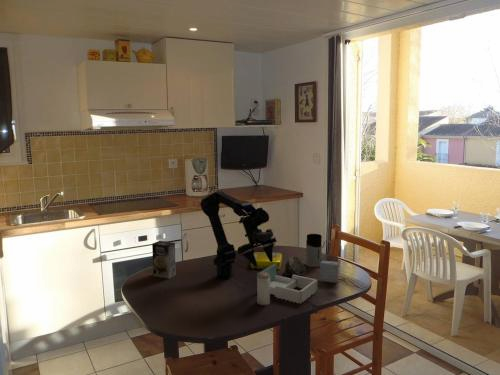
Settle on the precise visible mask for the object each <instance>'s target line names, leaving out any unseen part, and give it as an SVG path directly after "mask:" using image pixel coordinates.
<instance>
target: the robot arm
mask: <svg viewBox="0 0 500 375" xmlns="http://www.w3.org/2000/svg"><path fill="white" fill-rule="evenodd" d="M220 204H223V205H224V206H227V207H229V208H230V209H232V211H233V213H234V214H236V216H238V217H240V219H239V221H238V223H239V224H242V226H243V228H244V231H245V234H244V237H245V238H247V239H248V243H245V244H243V245H240V246H239V247H237V251H236V249H235V245H234V244H232V243H231V244H230V242H228V239H227V236H226V232H225V230H224V226H223V223H222V221H221V218H220V215H219V211H220V209H221V208H220ZM200 208H201V210H202V212H203V214H205V215H206V216H207V217H208V219H209V223H210V226H211V228H212V231H213V236H214V238H215V241H216V244H217V248H216V257H215V258H214V259H213V265H215V266H216V275H215V278H217V279H222V280H223V279H224V280H229V279H230V278H231V277H233V276H234V273H233V271H234V269H233V266H232V264H234V263H235V262H236V261H235V260H236V257H237V253H238V255H241V256H243V257H245V259H247V260H248V261H249V262H250V264H251V263H252V264H253V265H254V266H255V267H257V262H256V259H255V256H254V253H255V249H256V248H259V247H262V246H263V247H262V250H263V252H265V253H266V255H267V257H268V259H269V260H270V262H272V261H273V257H272V253H273V247H274V246H275V245H276V243H277V242H278V241H277V238H276V237H275V236H274V232H273V230H272V229H271V228H268V229H266V230H265V231H263V230H262V229H261V228H259V227H260V226H262V225H264V224H266V223H268V222H269V221H270V215H269V213H268V212H267V211H266V210H265V209H263V207H262V206H261V207H258V208H256V207H255V205H253V203H252V201H248V200H242V199H241V200H240V199H237V198H235V197H233V196H231V195H229V194H227V193H225V191H223V190H219V191H214V192H212V193H211V194H210V195H208V196H206V197H204V198H202V199H201V201H200ZM254 248H255V249H254Z"/></svg>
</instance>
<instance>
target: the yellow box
mask: <svg viewBox="0 0 500 375" xmlns="http://www.w3.org/2000/svg"><path fill="white" fill-rule="evenodd" d="M254 256H255V259H256V262H257V267H255V266H254V265H253V264H252V263H251V262H250V268H251V269H254V268H257V269H259V270H265V269H267V268H268V267H270V266H272V265H274V264H276V270H280V269H281V268H282V263H283V253H281V252H272V257H273V261H272V262H270V260H269V259H268V257H267V255H266V253H265V251H263V252H262V251H254Z"/></svg>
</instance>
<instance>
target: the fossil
mask: <svg viewBox="0 0 500 375" xmlns="http://www.w3.org/2000/svg"><path fill="white" fill-rule="evenodd" d="M284 268H285V269H284V271H285V272H284V275H285V276H284V277H286V276H289V275H291V276H292V275H298V276H302V277H304V276H305V275H306V273H307V268H306V265H304V263H303V262H302V261H301V260H300V259H299V258H298V256H295V255H294V256H291V257H289V259H288V260H287V262H285V265H284Z"/></svg>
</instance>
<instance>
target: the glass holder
mask: <svg viewBox="0 0 500 375" xmlns="http://www.w3.org/2000/svg"><path fill="white" fill-rule="evenodd" d="M322 239H323V238H322V234H319V233H309V234H307V235H306V243H305V245H306V246H305V250H306V251H305V262H304V264H305V266H308V267H310V268H311V267H314V268H317V267H319V268H320V263H321V262H322V261H324V259H326V258H327V257H328V256H330V254H331V252H332V249H333V244H332V242H331V241H330V240H328V239H326V240H325V241H323V245H322ZM326 242H328V243H330V250H329V252H328V253H327V255H325V256H324V257H323V258H322V255H323V254H322V253H323V248H325V243H326Z"/></svg>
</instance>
